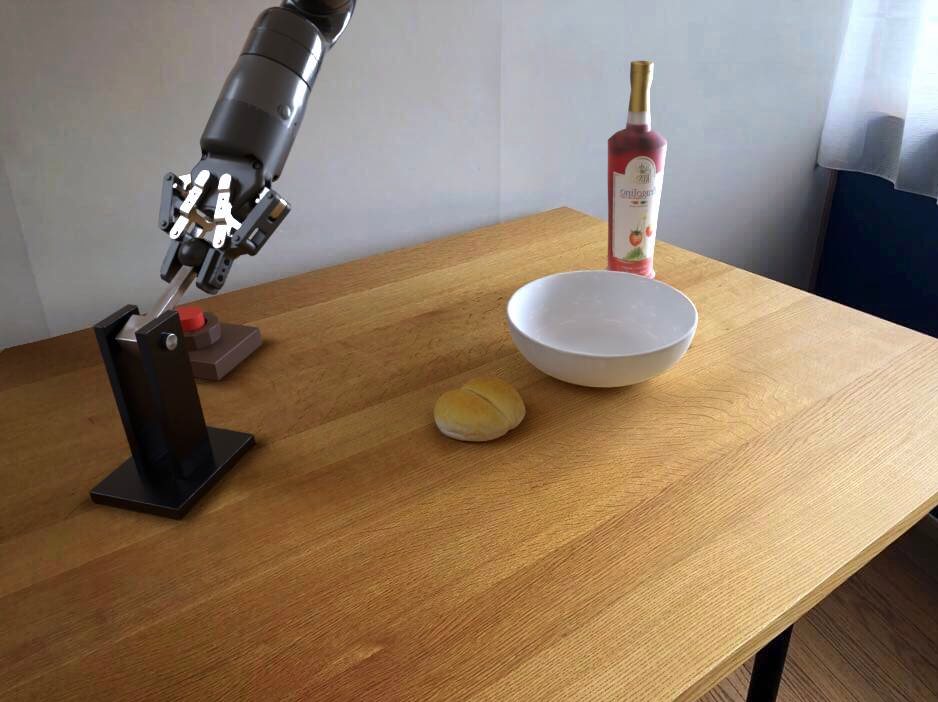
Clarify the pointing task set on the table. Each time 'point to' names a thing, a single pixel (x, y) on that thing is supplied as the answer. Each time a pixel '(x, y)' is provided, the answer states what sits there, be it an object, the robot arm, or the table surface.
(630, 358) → the serving bowl
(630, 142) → the liquor
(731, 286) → the table surface
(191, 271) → the lever
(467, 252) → the table surface
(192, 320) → the stop button
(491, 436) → the bread roll
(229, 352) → the control block
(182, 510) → the bracket
